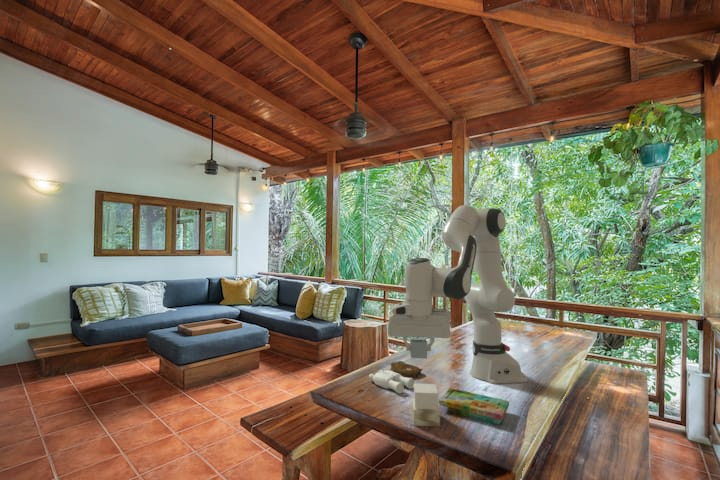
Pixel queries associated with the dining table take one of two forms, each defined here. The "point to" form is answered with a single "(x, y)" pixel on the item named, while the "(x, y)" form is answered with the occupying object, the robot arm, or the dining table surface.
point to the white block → (425, 396)
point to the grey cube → (418, 348)
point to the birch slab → (425, 416)
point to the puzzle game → (475, 405)
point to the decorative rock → (406, 369)
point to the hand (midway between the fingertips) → (418, 350)
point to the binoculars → (391, 380)
